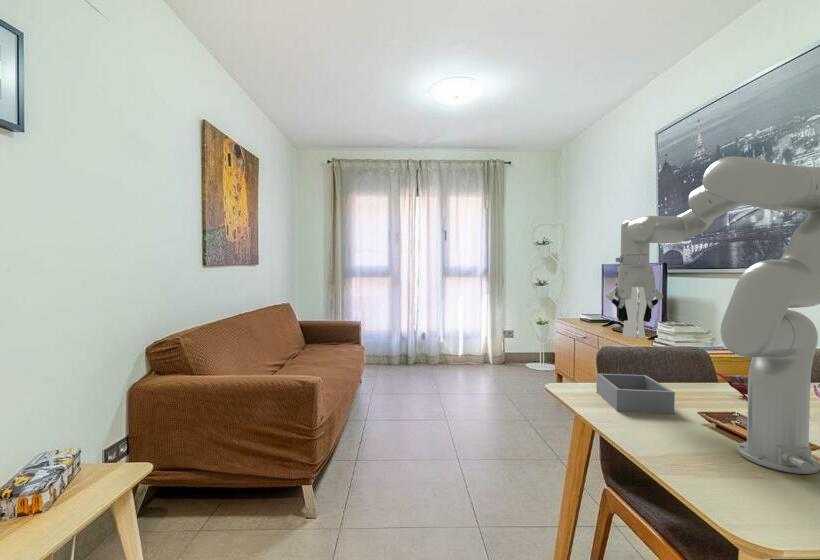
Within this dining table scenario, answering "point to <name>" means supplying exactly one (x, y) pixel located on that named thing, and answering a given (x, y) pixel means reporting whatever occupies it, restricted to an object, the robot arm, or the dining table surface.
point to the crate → (635, 393)
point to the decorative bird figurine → (737, 383)
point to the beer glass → (635, 313)
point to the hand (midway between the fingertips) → (633, 320)
